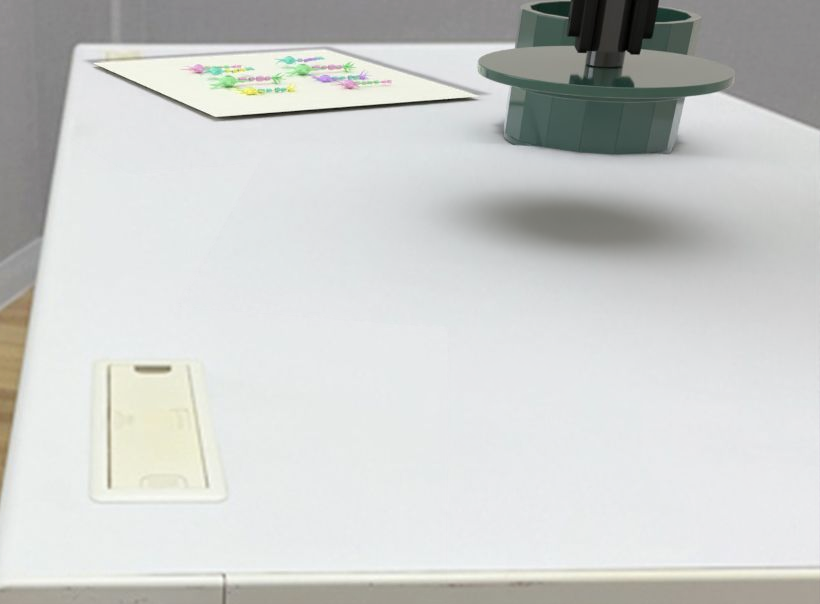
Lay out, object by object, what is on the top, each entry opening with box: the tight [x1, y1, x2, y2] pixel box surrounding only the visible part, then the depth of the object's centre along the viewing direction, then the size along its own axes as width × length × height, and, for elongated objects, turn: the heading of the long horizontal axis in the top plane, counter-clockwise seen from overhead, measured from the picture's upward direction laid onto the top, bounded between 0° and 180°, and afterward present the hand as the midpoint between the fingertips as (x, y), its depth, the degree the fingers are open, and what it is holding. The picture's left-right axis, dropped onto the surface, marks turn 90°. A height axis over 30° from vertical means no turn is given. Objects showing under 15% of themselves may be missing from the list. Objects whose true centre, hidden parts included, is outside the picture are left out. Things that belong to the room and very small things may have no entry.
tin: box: [503, 0, 703, 155], centre depth 104 cm, size 15×15×10 cm
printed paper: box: [93, 49, 479, 118], centre depth 127 cm, size 30×30×2 cm
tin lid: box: [476, 0, 736, 102], centre depth 76 cm, size 16×16×7 cm
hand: (606, 48), depth 77 cm, fingers closed on tin lid, 2 cm apart
